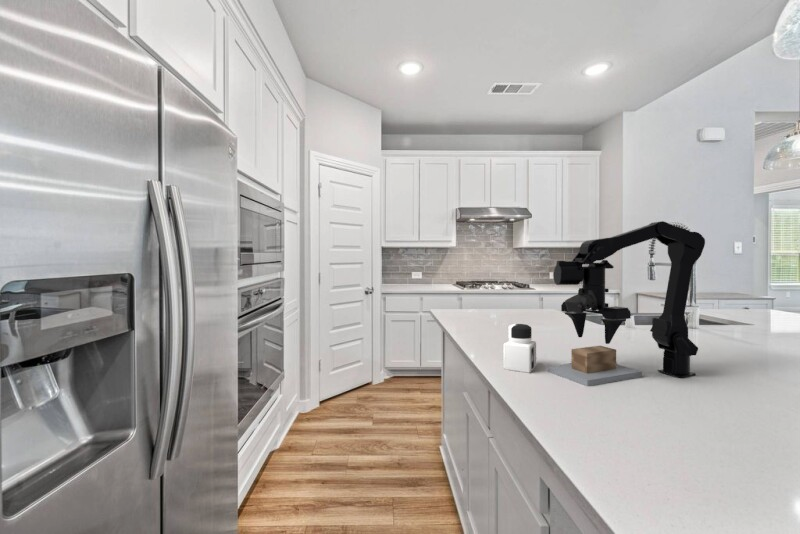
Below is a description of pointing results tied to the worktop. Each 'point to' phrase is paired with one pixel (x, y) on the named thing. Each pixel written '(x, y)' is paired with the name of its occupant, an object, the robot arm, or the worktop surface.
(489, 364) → the worktop surface
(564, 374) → the pin board
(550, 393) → the worktop surface
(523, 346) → the container
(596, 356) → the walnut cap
